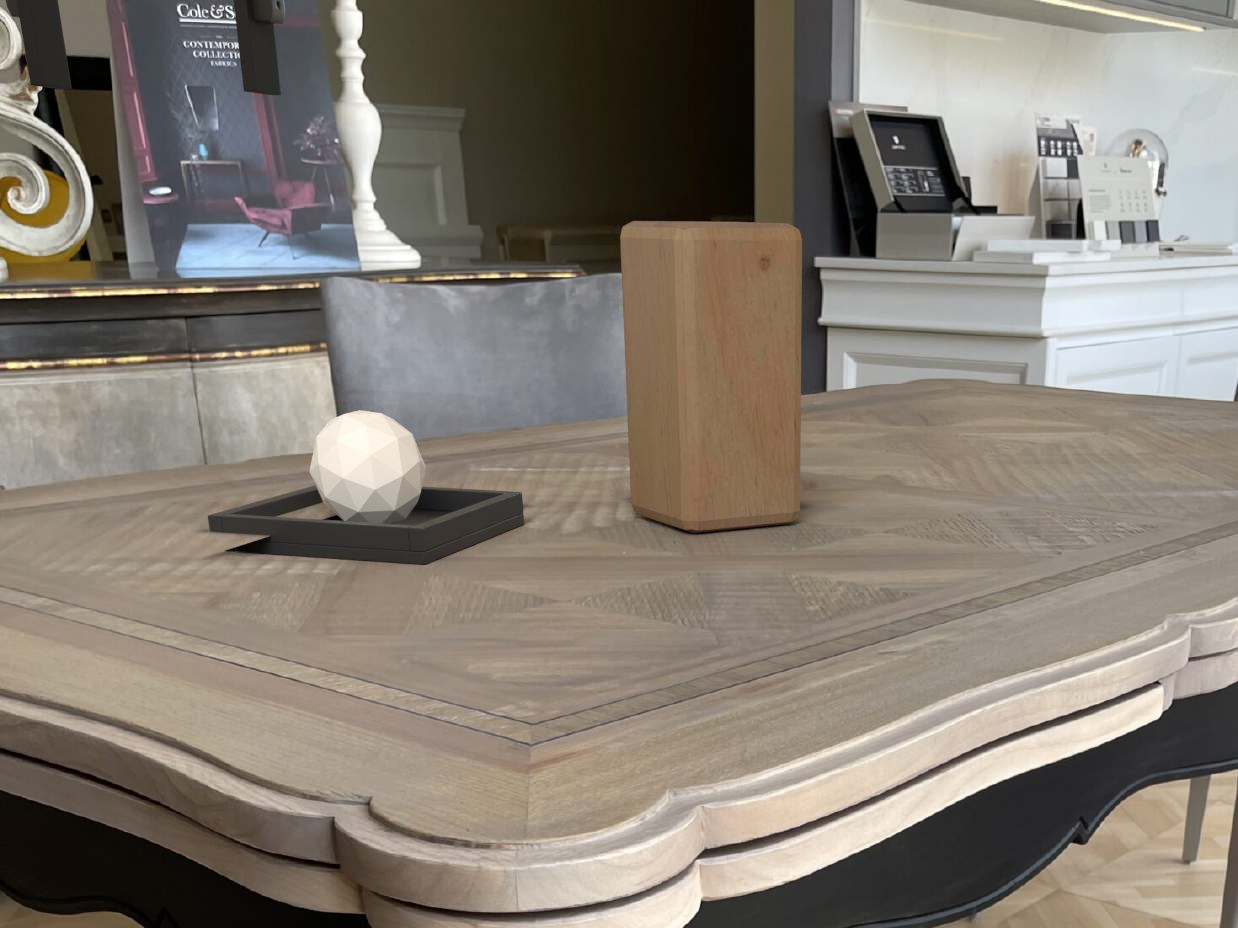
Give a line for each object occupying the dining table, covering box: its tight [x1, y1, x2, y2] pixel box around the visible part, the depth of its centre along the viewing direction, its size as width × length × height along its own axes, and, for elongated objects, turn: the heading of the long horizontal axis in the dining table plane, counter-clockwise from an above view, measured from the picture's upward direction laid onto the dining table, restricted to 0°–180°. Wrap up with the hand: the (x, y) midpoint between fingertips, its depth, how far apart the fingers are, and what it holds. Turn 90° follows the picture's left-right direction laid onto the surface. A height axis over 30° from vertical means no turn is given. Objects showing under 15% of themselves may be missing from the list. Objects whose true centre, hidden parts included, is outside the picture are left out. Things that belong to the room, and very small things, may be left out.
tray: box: [207, 484, 525, 565], centre depth 113 cm, size 16×16×2 cm
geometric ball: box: [309, 409, 427, 524], centre depth 111 cm, size 8×8×8 cm
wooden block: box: [619, 220, 803, 534], centre depth 116 cm, size 10×10×20 cm
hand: (155, 91), depth 91 cm, fingers open, 13 cm apart
